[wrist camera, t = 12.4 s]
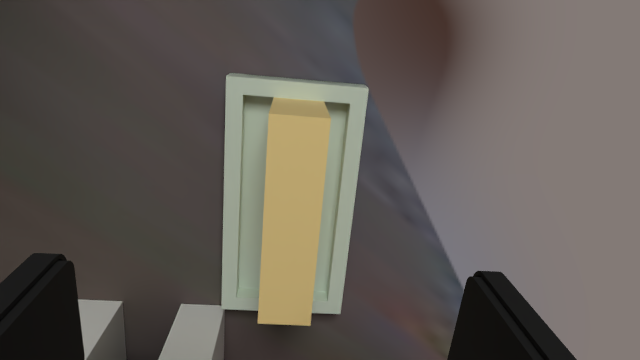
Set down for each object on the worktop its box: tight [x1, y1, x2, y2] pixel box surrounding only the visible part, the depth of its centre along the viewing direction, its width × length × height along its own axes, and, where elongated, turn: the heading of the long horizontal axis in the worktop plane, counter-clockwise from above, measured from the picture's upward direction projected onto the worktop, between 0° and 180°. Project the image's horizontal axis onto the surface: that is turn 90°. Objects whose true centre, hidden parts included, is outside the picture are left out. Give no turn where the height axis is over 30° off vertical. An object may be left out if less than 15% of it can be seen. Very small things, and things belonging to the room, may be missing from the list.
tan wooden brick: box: [258, 97, 331, 326], centre depth 26 cm, size 12×3×6 cm, turn 175°
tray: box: [221, 73, 369, 314], centre depth 29 cm, size 16×8×2 cm, turn 175°
